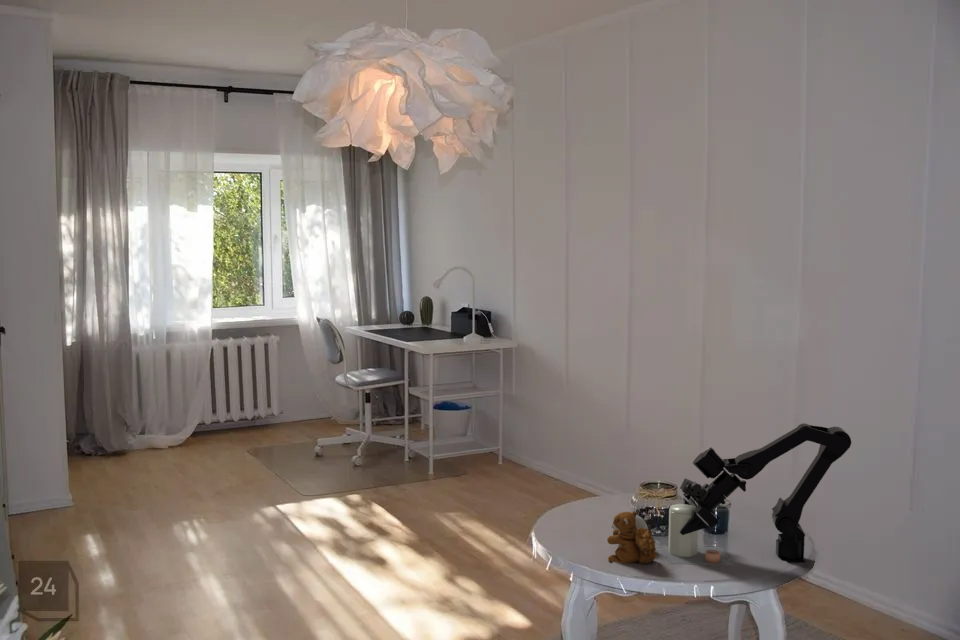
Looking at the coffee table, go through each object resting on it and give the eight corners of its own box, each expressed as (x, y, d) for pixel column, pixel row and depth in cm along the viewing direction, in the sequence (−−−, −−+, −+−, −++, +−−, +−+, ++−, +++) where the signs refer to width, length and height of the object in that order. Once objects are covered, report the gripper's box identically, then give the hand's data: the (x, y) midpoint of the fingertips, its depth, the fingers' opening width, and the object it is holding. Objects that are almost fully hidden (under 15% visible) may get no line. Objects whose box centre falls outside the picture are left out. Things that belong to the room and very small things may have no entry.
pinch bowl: (718, 558, 245) (718, 549, 245) (721, 563, 241) (721, 554, 241) (703, 558, 245) (703, 549, 245) (706, 563, 241) (706, 554, 241)
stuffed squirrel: (620, 550, 252) (620, 504, 251) (665, 561, 244) (666, 514, 242) (601, 560, 245) (602, 512, 243) (648, 572, 236) (649, 523, 235)
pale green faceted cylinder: (693, 547, 253) (694, 504, 252) (698, 556, 246) (699, 512, 245) (667, 547, 254) (668, 503, 253) (671, 556, 246) (671, 511, 245)
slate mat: (723, 549, 254) (723, 547, 254) (733, 566, 240) (733, 565, 240) (662, 547, 255) (662, 546, 255) (669, 565, 241) (669, 563, 241)
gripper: (691, 461, 257) (651, 499, 258) (706, 478, 238) (664, 519, 240) (718, 488, 258) (678, 526, 259) (735, 508, 239) (693, 548, 240)
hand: (678, 529), depth 249 cm, fingers closed on pale green faceted cylinder, 7 cm apart
